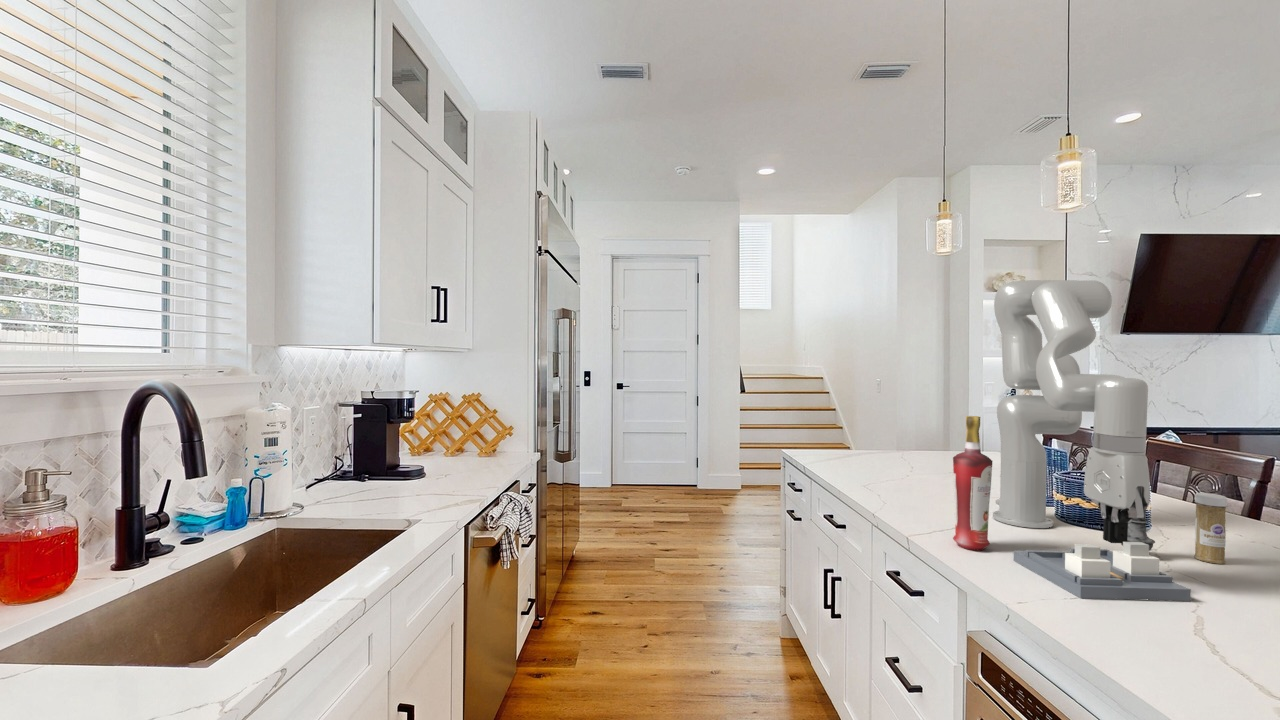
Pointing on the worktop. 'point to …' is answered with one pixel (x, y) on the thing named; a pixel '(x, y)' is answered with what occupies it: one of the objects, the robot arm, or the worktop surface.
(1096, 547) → the tab
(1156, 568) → the tab
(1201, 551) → the sprinkles bottle
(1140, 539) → the grey bust statue
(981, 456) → the liquor
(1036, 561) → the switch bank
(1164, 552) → the worktop surface
